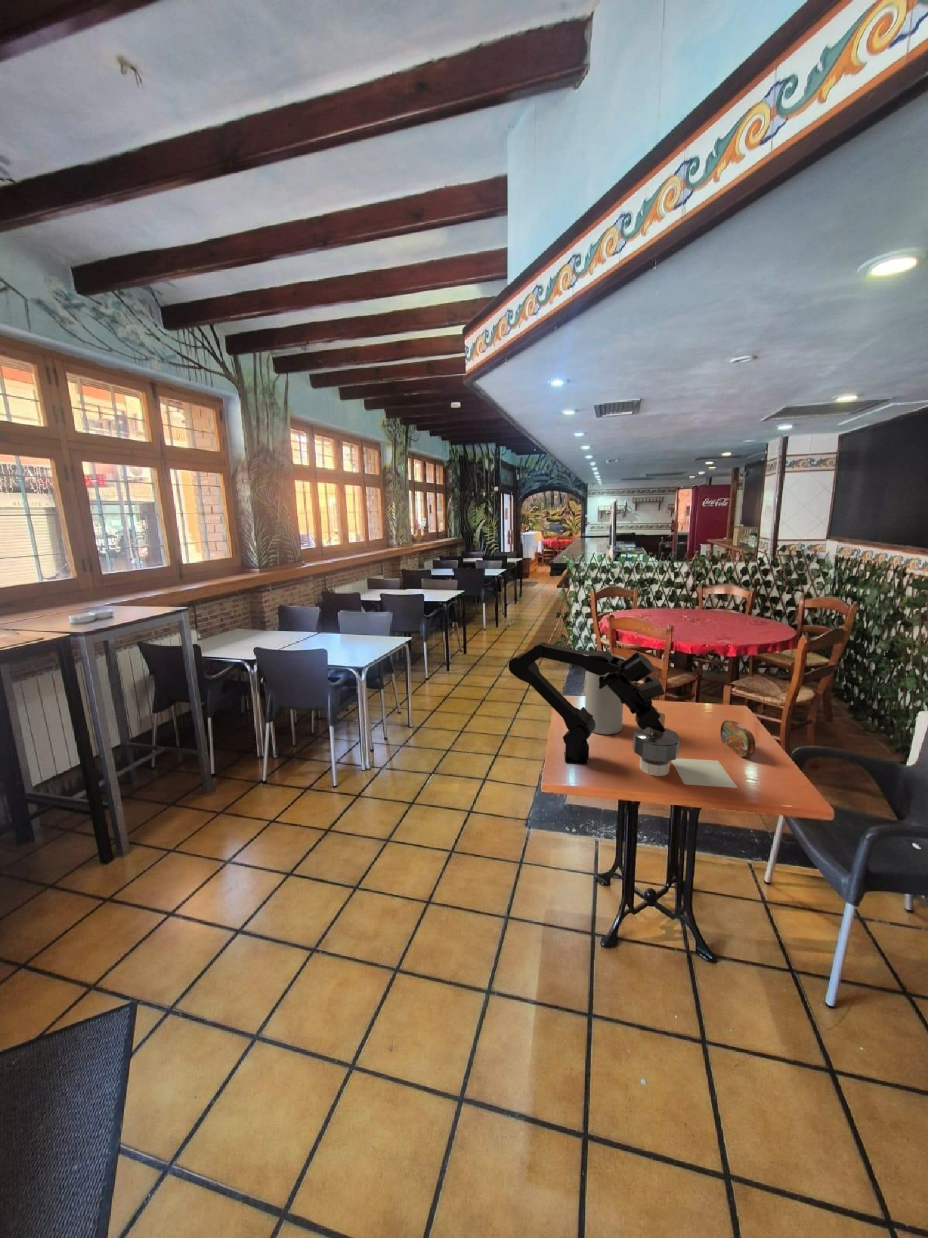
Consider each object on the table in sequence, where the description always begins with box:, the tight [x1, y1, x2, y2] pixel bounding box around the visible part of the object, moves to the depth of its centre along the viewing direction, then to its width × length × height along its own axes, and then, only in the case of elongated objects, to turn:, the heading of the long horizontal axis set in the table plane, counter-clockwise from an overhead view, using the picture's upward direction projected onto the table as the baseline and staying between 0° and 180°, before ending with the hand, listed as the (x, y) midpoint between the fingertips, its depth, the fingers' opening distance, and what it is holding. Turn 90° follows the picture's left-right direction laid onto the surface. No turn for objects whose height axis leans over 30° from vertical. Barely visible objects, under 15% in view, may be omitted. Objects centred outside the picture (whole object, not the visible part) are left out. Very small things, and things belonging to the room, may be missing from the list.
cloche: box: [632, 711, 681, 762], centre depth 140 cm, size 12×12×11 cm
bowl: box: [639, 756, 671, 777], centre depth 142 cm, size 8×8×4 cm
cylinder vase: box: [584, 653, 626, 736], centre depth 168 cm, size 12×12×25 cm
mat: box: [671, 757, 738, 789], centre depth 140 cm, size 14×15×1 cm
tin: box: [719, 719, 756, 758], centre depth 152 cm, size 15×3×8 cm, turn 1°
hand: (662, 728), depth 139 cm, fingers closed on cloche, 4 cm apart
